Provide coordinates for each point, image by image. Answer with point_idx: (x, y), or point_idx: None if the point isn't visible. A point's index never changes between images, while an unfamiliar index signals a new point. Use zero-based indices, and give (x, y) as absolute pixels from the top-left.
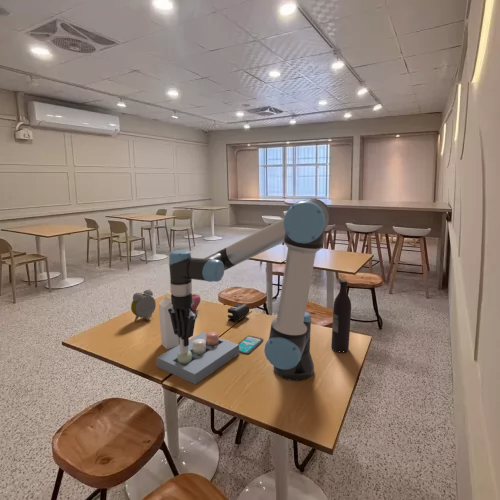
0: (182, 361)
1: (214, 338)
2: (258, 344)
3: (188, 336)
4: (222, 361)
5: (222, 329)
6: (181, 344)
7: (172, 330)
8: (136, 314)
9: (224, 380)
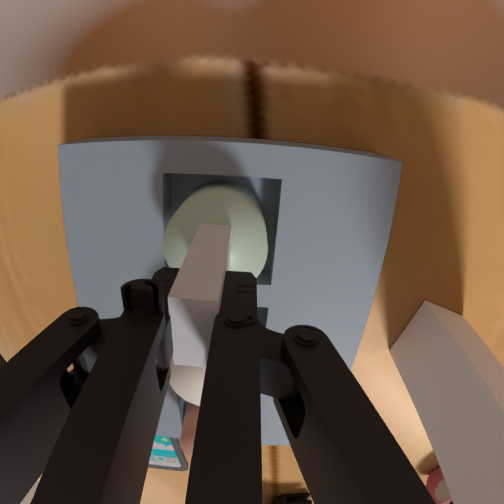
0: (196, 193)
1: (183, 430)
2: None
3: (52, 324)
4: None
5: (294, 469)
6: (198, 262)
7: (442, 387)
8: None
9: (28, 235)
